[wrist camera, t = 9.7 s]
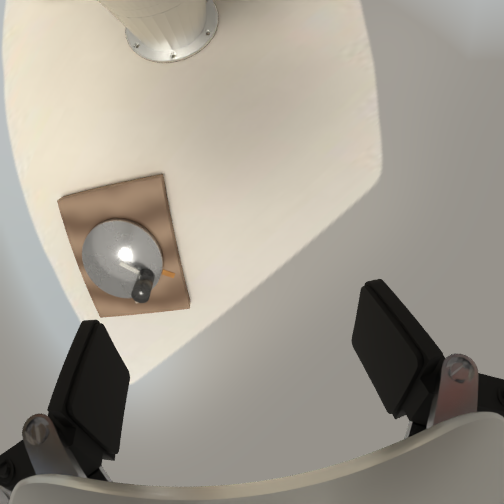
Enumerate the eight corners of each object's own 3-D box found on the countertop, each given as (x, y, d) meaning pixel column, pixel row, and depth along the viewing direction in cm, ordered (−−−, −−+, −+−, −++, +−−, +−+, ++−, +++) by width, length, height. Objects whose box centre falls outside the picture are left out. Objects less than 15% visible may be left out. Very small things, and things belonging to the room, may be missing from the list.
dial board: (62, 196, 36) (56, 201, 34) (162, 174, 37) (160, 177, 35) (103, 310, 46) (100, 317, 44) (190, 301, 48) (189, 308, 46)
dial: (76, 271, 39) (61, 292, 34) (100, 203, 35) (84, 218, 30) (143, 305, 44) (137, 331, 39) (178, 244, 40) (173, 266, 35)
